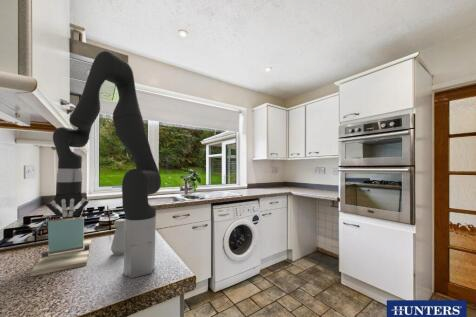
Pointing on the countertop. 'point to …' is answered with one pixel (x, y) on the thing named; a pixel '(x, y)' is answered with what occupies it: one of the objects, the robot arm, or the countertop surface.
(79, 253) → the board
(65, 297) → the countertop surface
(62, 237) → the tile
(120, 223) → the salt shaker
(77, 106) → the robot arm
